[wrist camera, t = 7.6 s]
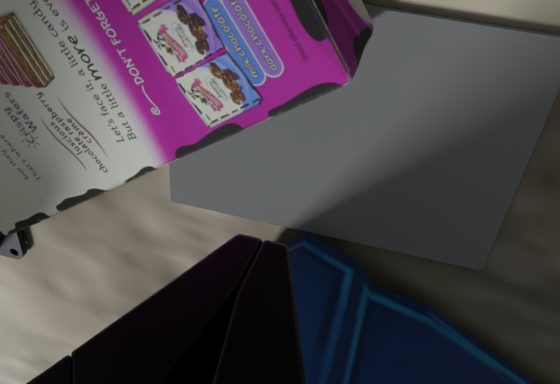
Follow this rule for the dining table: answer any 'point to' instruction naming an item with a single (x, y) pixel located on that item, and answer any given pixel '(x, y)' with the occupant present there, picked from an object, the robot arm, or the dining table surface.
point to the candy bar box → (151, 85)
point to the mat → (395, 142)
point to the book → (378, 329)
